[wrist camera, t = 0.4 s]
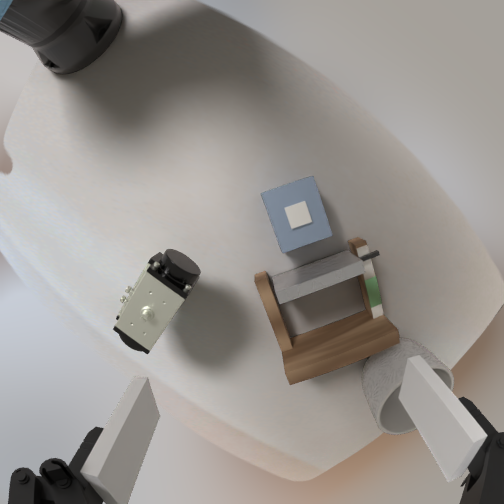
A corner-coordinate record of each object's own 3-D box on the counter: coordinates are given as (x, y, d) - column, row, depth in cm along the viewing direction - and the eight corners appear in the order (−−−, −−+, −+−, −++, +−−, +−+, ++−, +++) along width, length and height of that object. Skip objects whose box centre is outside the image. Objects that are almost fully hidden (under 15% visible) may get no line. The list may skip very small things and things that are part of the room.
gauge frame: (254, 274, 38) (254, 295, 30) (358, 237, 37) (382, 248, 29) (284, 352, 41) (290, 385, 33) (377, 317, 39) (400, 342, 32)
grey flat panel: (272, 276, 38) (275, 292, 32) (367, 242, 37) (385, 251, 31) (276, 287, 38) (279, 304, 32) (369, 252, 37) (388, 263, 31)
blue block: (260, 193, 36) (261, 193, 31) (305, 177, 36) (313, 175, 31) (279, 245, 38) (282, 253, 32) (322, 229, 37) (333, 236, 32)
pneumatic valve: (212, 257, 38) (194, 287, 26) (167, 322, 40) (139, 367, 28) (177, 233, 37) (145, 251, 26) (136, 299, 39) (97, 337, 28)
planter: (411, 387, 42) (437, 425, 32) (348, 396, 43) (366, 441, 32) (429, 326, 40) (465, 359, 29) (362, 332, 40) (390, 372, 29)
